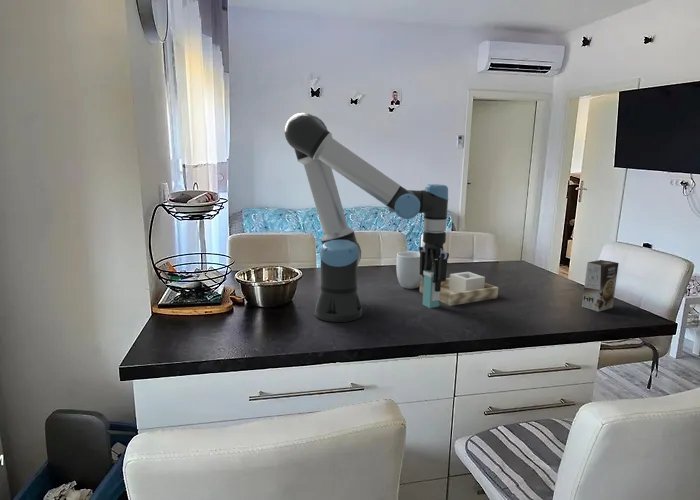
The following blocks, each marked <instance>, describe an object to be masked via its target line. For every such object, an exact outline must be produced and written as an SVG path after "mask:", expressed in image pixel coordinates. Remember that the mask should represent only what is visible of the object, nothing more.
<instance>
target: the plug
mask: <svg viewBox="0 0 700 500" xmlns="http://www.w3.org/2000/svg"><path fill="white" fill-rule="evenodd" d="M423 275H424V278H423V279H424V285H423V293H422V306H425V307H426V308H428V309H432V308H438V307H440V301H439V300H436V301H432V281H434V271H433V269H431V270H428V271H423ZM437 279H438V278H437ZM439 297H440V295H439Z"/></svg>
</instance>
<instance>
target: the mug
mask: <svg viewBox="0 0 700 500" xmlns="http://www.w3.org/2000/svg"><path fill="white" fill-rule="evenodd" d="M395 267H396V277H397V282H399V285H400V287H402V288H403V289H411V290H414V289H417V288H420V282H422V281H423V279H424V278H423V276H422V275H420V251H399V252H397V254H396V265H395Z"/></svg>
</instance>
